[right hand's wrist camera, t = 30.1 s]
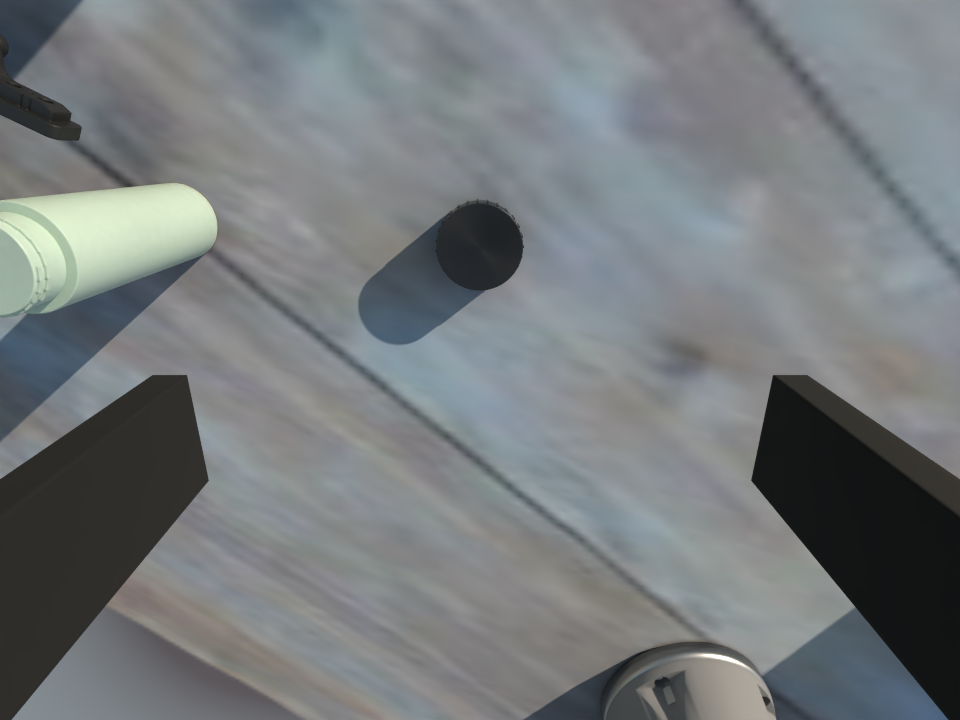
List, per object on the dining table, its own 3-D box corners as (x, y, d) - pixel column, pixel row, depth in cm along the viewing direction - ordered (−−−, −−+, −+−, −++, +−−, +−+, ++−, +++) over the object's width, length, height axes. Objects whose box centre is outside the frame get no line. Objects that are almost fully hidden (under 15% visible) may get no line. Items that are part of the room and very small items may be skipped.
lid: (426, 267, 37) (423, 274, 35) (454, 186, 35) (452, 188, 33) (503, 295, 38) (504, 303, 36) (534, 217, 36) (537, 221, 34)
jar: (145, 254, 37) (-68, 319, 22) (139, 178, 35) (-97, 196, 21) (219, 263, 37) (54, 333, 23) (216, 188, 35) (36, 213, 21)
